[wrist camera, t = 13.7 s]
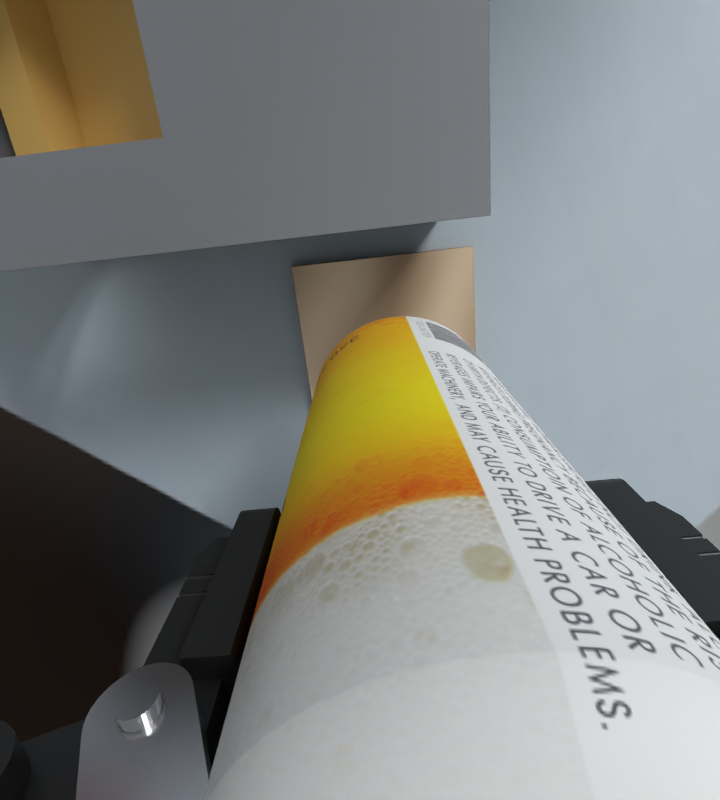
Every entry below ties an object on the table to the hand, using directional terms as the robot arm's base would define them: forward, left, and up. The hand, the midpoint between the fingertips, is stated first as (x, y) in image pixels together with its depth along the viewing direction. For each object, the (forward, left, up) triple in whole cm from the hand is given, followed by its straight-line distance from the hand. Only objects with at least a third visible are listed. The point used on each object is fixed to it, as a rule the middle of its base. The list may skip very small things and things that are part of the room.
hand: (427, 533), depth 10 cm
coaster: (0, 0, -17) cm, 17 cm away
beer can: (0, 0, -9) cm, 9 cm away
